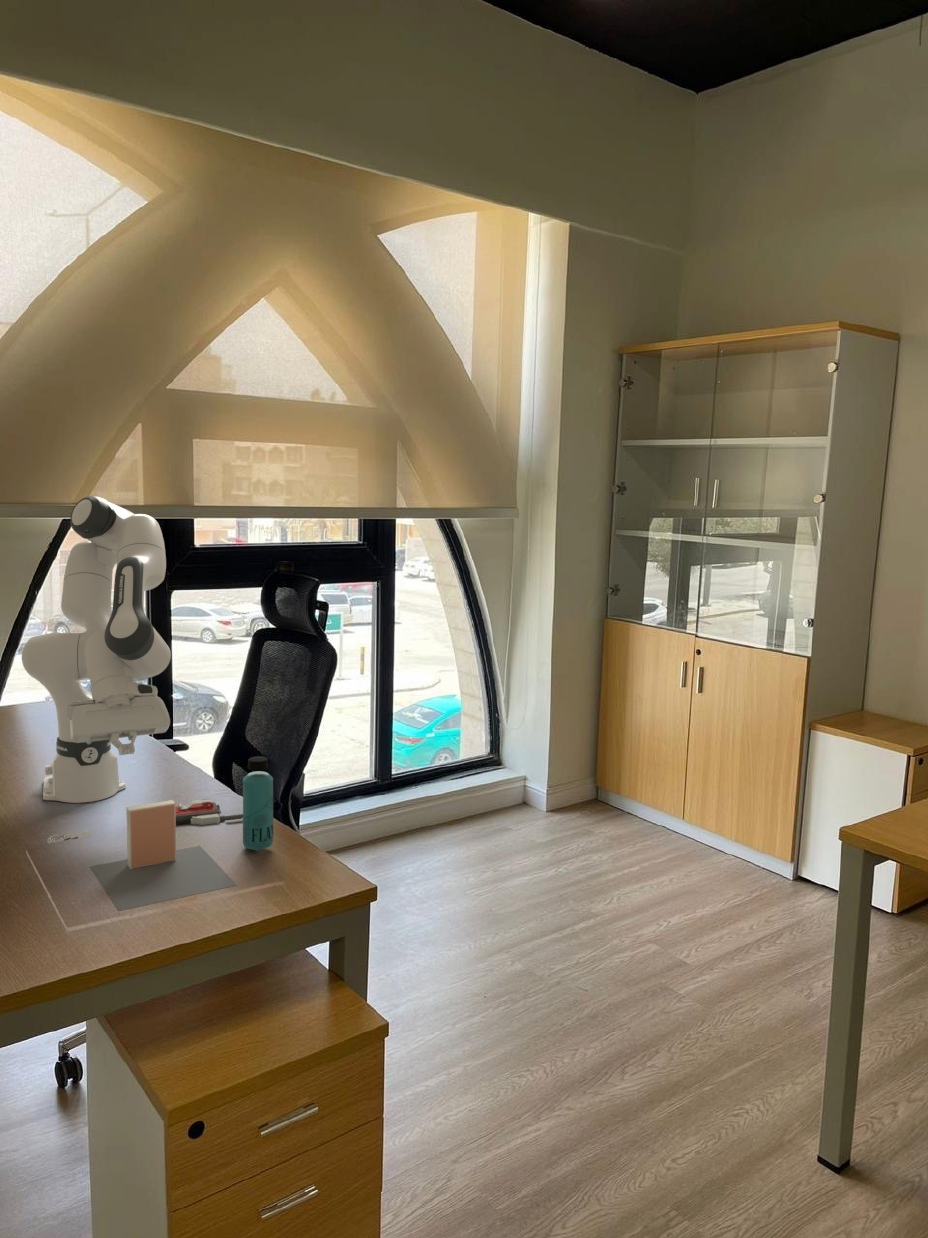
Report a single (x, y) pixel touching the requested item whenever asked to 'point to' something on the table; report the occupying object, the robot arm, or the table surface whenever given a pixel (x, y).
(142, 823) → the block
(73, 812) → the table surface
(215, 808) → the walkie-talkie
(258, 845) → the beverage bottle
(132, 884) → the mat
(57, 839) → the handheld gaming device
